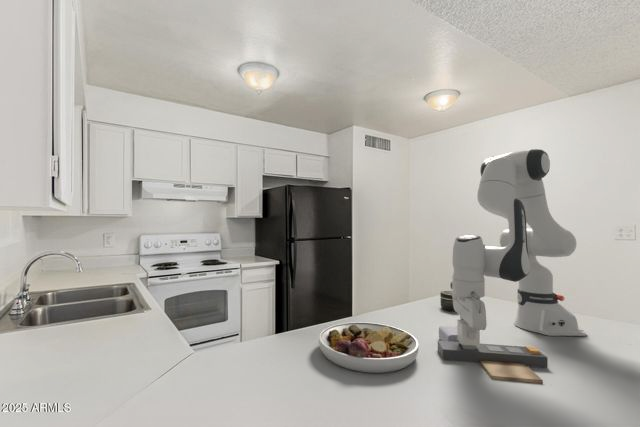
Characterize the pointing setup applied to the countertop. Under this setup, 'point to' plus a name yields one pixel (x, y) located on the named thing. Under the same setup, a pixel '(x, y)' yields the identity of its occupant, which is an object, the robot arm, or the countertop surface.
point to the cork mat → (510, 371)
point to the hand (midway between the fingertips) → (468, 334)
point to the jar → (447, 301)
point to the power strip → (493, 354)
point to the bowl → (368, 346)
